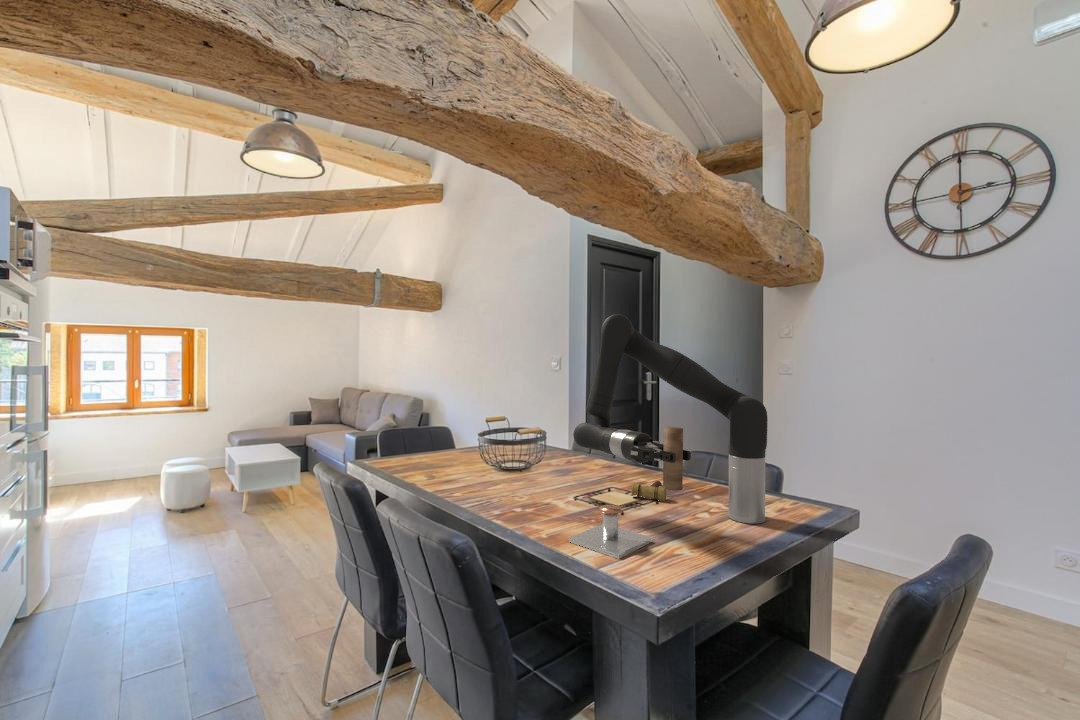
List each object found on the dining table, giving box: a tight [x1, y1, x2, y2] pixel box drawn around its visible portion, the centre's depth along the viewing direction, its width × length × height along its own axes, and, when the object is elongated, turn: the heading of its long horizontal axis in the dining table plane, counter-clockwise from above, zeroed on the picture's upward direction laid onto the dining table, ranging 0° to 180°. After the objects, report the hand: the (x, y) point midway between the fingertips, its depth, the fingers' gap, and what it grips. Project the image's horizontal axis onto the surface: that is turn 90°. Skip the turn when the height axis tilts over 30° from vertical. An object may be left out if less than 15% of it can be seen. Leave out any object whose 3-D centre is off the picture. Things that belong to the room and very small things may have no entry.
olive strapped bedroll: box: [631, 480, 667, 502], centre depth 158 cm, size 21×5×10 cm
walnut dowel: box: [662, 426, 684, 492], centre depth 113 cm, size 4×4×14 cm
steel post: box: [568, 504, 653, 560], centre depth 114 cm, size 14×14×8 cm
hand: (682, 457), depth 110 cm, fingers closed on walnut dowel, 4 cm apart
